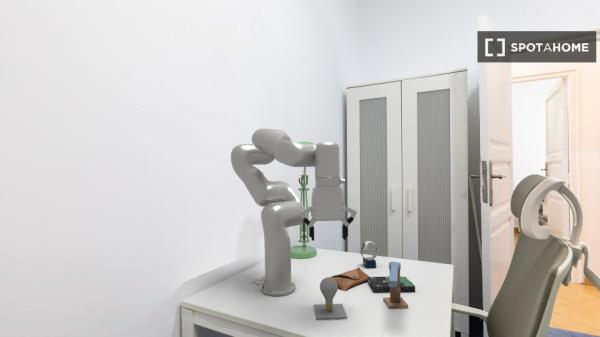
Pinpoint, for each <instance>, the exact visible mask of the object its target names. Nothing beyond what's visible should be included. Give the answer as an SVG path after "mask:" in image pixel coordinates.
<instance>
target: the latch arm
mask: <svg viewBox="0 0 600 337" xmlns="http://www.w3.org/2000/svg"><path fill="white" fill-rule="evenodd" d="M401 266H402V265H401V262H398V261H389V262H388V269H389V270H390V269H391V272H390V271H389V277H390V280H389V281H390V286H391V287H397V282H398V270H400V271H401Z"/></svg>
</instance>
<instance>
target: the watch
mask: <svg viewBox="0 0 600 337" xmlns="http://www.w3.org/2000/svg"><path fill="white" fill-rule="evenodd" d="M369 244H373V245H375V249H374V252H373V254H372V256H371V257H365V256H364V253H365V252H366V251H367V249H368V248H369V247H368V246H369ZM378 253H379V247H378V245H377V244H376V243H375V242H373V241H371V240H366V241H364V242H362V244H361V245H360V247H359V254H360V256H361V257H362V265H363V267H364V268H365V269H366V270H369V269H377V260H375V259H376V258H377V256H378Z"/></svg>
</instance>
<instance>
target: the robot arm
mask: <svg viewBox="0 0 600 337" xmlns="http://www.w3.org/2000/svg"><path fill="white" fill-rule="evenodd" d="M340 159H341V158H340V145H339V144H338V143H336V142H333V141H332V142H330V141H329V142H327V141H325V142H318V143H307V142H306V143H304V142H292V138H291V137H290V136H289V135H288V134H287V132H286V131H285V130H282V129H275V128H274V129H273V128H260V129H259V128H258V129H256V130H255V131H254V132H253V134H252V135H251V143H242V144H237V145H236V146H234V147H233V148H232V150H231V152H230V164H231V167H232V169H233V171H234V173H235V175H236V176H237V177H238V178H239V179H240V180H241V181H242V183H243V184H244V186H245V188H246V189H247V191H248V192H249V194H250V196H251V198H252V199H253V201H254V202H255V204H256V205H257V206H259V207H263V208H262V210H261V212H260V218H261V224H262V229H263V242H264V243H263V244H264V276H261V277H260V278H259V277H254V278H252V284H254V285H255V286H260V290H261V292H262V293H263V294H264V295H267V296H273V297H275V296H276V297H278V296H279V297H280V296H286V295H287V296H288V295H290V294H292V293H294V292H295V291H296V290H297V289H296V284H295V283H294V282H293V281H292V248H291V247H292V246H291V245H292V242H291V238H290V235H289V234H288V232H287V230H286V228H290V227H296V226H300V225H301V224H303V223H305V225H307V226H308V236H309V238H311V241H315V227H314V225H315V223H316V222H331V221H332V222H333V221H334V222H336V221H338V222H339V221H341V223H342V225H341V229H342V230H341V232H342V234H341V237H342V239H343V240H344V241H346V240H347V237H348V236H349V226H350V224H351V223H352V222H353V221H354V219H355V217H357V216H356V215H357V213H358V212H357V211H356V210H355V209H353V208H350V207H349V206H346V203H345V196H344V191H343V187H342V186H341V185H342V184H345V182H346V181H345V178H341V175H340V173H341V172H340V170H341V167H340V166H341V164H340V161H341V160H340ZM274 161H277V162H278V163H281V164H284V165H286V166H289V167H293V168H314V185H315V186H314V187H312V189H311V190H312V191H311V198H310V199H311V202H310V203H311V204H310V206H309V207H307V208H305V206H304V204H303V202H302V201H301V199H300V197H299V196H298V195H297V193H296V192H295V190H294V189H293V188H292V187H291V185H290V184H289V183H287V182H285V181H280V180H275V181H272V180H269V179H268V178H267V177H266V175H265V174H264V172H263V171H262V170H260V169H259V168H257V167H256V166H259V165H260V166H261V165H269V164H271V163H273V162H274ZM254 165H255V166H254ZM346 212H348V213H350V214H349V215H350V216H349V217H348V218H347V219H346ZM309 213H311V214H310V215H311V219H310V220H309V219H308V217H307V214H309Z"/></svg>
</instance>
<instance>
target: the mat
mask: <svg viewBox="0 0 600 337" xmlns="http://www.w3.org/2000/svg"><path fill="white" fill-rule="evenodd" d="M332 306H333V309H332V310H330V311H328V310H327V309H326V303H323V304H321V303H320V304H318V303H315V304H313V307H314V313H315V319H316V321H320V320H321V321H323V320H347V319H348V316H347V314H346V310H345V307H344V305H343V303H333V304H332Z"/></svg>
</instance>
